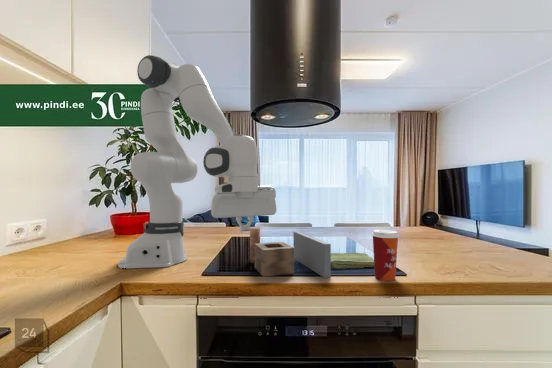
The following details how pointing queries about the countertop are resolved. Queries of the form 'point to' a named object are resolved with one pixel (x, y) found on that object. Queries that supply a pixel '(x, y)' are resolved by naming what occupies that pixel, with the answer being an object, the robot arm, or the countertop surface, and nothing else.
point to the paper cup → (385, 254)
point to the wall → (312, 253)
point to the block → (274, 258)
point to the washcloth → (351, 260)
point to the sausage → (254, 242)
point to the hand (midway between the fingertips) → (244, 231)
